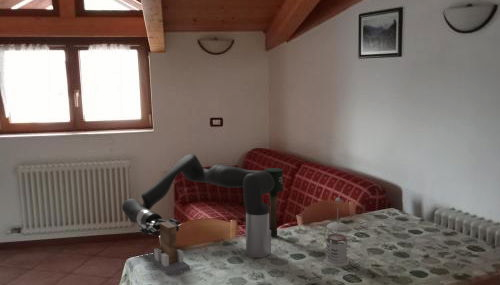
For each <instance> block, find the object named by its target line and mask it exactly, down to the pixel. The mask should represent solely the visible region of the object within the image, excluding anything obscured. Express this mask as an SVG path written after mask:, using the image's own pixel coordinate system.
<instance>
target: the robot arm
mask: <svg viewBox="0 0 500 285" xmlns="http://www.w3.org/2000/svg"><path fill="white" fill-rule="evenodd" d="M181 173H182V175H183V176H184V178H185V179H186V180H187V181H190V182H198V183H206V184H212V185H215V186H218V187H219V186H220V187H224V188H242V191H243V193H242V194H243V205H244V208H245V254H246V256H247V257H249V258H256V259H257V258H265V257H268V256H269V255H270V254H271V253H272V237H271V230H270V204H268V203H266V202H263V201H262V195H267V194H268V193H270V191H271V190H272V189H273V187H274V179H273V177H272V176H271V174H269V173H268V172H266V171H265V170H253V169H252V170H251V169H244V168H242V167H236V166H232V165H228V164H223V163H222V164H221V163H217V164H215V165H213V166H211V167H210V168H209V169H207V168H205V167H204V166H203V165H202V164H201V161H200V160H199V158H198V157H197V156H196V154H194V153H189V154H186V155H185V156H182V158H180V159H179V160H178V161H177V162H176V163H175V164H174V165H173V166H172V167H171V168H170V169H169V170H168V171H167V172H166V173H165V174H164V175H163V176H162V177H161V178H160V179H159V180H158V181H157V182H156V183H155V184H153V185H152V186H150V187H149V188H147V190H145V191H144V192H143V193H142V194H141V200H142V203H141V202H140V201H139V200H138V199H135V198H128V199H126V200H125V201H124V202H123V203H122V205H121V206H122V207H121V209H122V212H123V213H124V215H126V217H127V218H128V219H129V221H130V222H131V223H136V224H138V225H139V228H138V230H139V231H140V232H141V233H142V234H143V235H145V236H146V235H148V234H149V235H152V236H154V237H158V236H159V234H158V231H160V223H162V222H167V221H168V222H169V223H171V224H173V225H175V226H176V232H179V230H180V226H179V220H177V219H174V218H173V217H169V218H168V220H167V219H163V217H162V216H161V215H160V214H159V213H156V212H155V211H153V210H151V209H152V208H153V207H154V206H155V205H156V204H157V203H158V202H160V201H161V200H163V198H165V197H166V196H167V194H168V193H169V191H170V189H171V187H172V184H173V183H174V181H175V179H176V178H177V176H178V175H180V174H181Z"/></svg>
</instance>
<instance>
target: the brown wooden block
mask: <svg viewBox="0 0 500 285" xmlns="http://www.w3.org/2000/svg"><path fill="white" fill-rule="evenodd" d="M159 243H160V244H159V247H160V248H159V249H160V250H161V252H162V253H166V254H167V255H169V264H172V263H176V262H177V250H178V249H177V231H176V226H175V225H173V224H171V223H169V222H168V221H167V222H162V223H160V230H159Z"/></svg>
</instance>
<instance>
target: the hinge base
mask: <svg viewBox="0 0 500 285" xmlns="http://www.w3.org/2000/svg"><path fill="white" fill-rule="evenodd" d="M148 259H149V260H150V261H151V262H152V263H154V264H155V265H156V266H158V267H159V268H161V269H162V270H163V271H164V272H165V273H167V274H168V275H169V276H172V275H175V274H179V273H182V272H186V271H189V270H190V269H191V266H190V264H188V263H187V262H185V261H184V251H183V250H181V249H179V248H178V249H177V262H176V263H172V264H169V255H167V254H166V253H162V252H161V250H160V248H159V247H156V248H154V253H153V254H149V255H148Z"/></svg>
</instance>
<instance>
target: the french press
mask: <svg viewBox="0 0 500 285" xmlns="http://www.w3.org/2000/svg"><path fill="white" fill-rule="evenodd" d="M335 202H337V203H339V202H341V198H340V197H335ZM336 216H337V217H336V220H337V221H334V222H330V223H328V224H327V225H326V229H325V230H324V242H325V243H326V249H325V250H326V251H325V252H326V255H325V258H323V262H324V264H326V265H329V266H332V267H345V266H347V265H349V264H350V260H349V259H348V240H347V236H346V235H345V234H340V233H338V232H345V231H348V229H349V226H347V225H346V224H345V223H343V222H341V221H340V222H339V209H337V214H336ZM327 229H328V230H327ZM326 230H327V239H326ZM332 231H334V232H336V233H329V232H332Z"/></svg>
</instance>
